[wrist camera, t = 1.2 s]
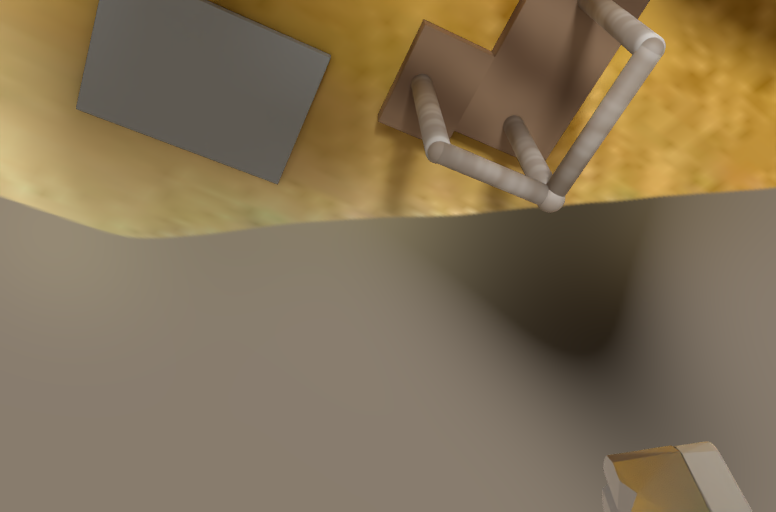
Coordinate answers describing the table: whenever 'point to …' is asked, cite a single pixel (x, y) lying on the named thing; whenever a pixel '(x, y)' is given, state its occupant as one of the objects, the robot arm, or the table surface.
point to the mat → (201, 80)
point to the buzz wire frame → (522, 90)
